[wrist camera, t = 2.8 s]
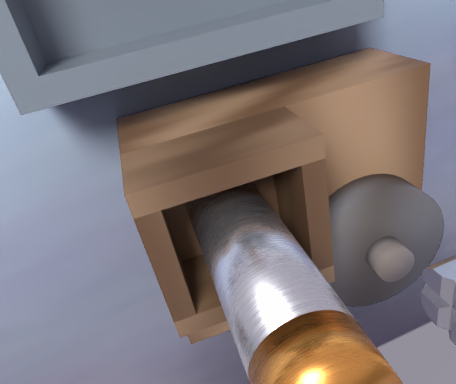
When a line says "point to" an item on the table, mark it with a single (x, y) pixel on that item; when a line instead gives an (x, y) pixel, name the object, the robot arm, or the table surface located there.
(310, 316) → the lock pin
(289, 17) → the tray
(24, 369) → the table surface
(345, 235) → the wooden holder block
